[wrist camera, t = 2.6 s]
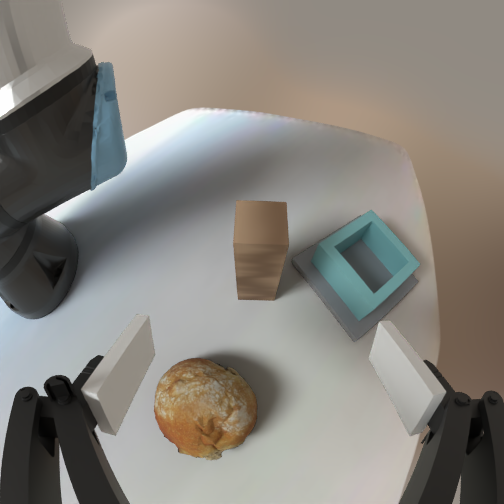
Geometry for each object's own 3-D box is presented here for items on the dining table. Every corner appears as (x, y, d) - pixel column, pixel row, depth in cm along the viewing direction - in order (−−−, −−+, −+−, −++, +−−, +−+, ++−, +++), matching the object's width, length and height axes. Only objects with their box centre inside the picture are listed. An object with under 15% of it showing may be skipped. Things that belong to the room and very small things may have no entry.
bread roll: (261, 395, 28) (277, 362, 24) (235, 474, 20) (245, 465, 15) (181, 368, 30) (177, 328, 25) (144, 439, 21) (125, 416, 17)
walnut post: (238, 299, 30) (233, 243, 20) (239, 267, 32) (236, 200, 22) (274, 300, 30) (288, 244, 20) (273, 268, 32) (286, 202, 22)
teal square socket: (291, 262, 33) (298, 239, 28) (358, 219, 36) (370, 196, 32) (354, 342, 28) (372, 331, 24) (414, 284, 31) (434, 267, 27)
